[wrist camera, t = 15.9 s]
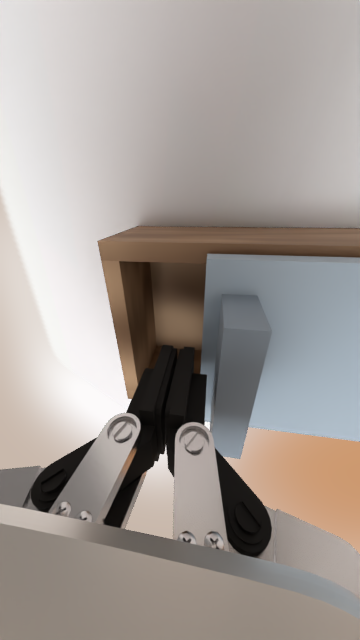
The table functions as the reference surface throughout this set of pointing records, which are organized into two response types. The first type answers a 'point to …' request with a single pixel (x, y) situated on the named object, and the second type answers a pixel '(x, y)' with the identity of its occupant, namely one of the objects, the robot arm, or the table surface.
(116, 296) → the toolbox
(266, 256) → the lid
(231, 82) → the table surface
